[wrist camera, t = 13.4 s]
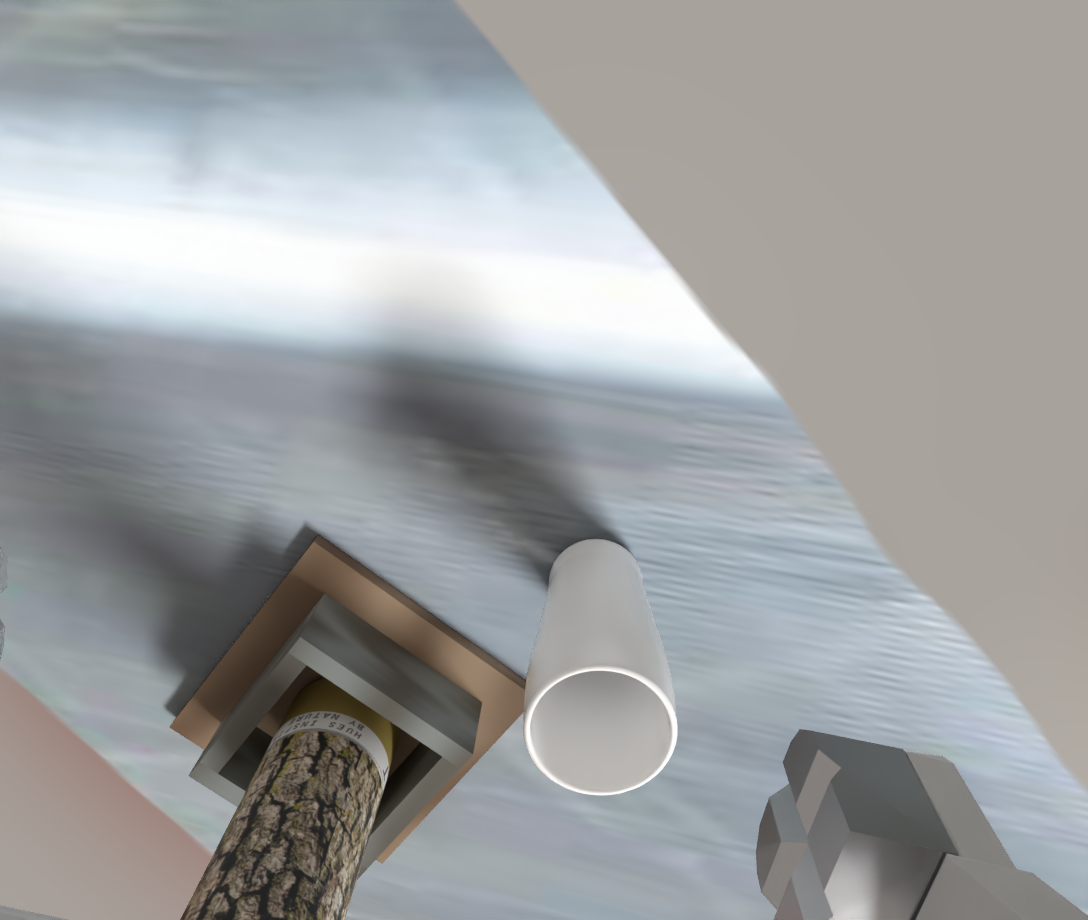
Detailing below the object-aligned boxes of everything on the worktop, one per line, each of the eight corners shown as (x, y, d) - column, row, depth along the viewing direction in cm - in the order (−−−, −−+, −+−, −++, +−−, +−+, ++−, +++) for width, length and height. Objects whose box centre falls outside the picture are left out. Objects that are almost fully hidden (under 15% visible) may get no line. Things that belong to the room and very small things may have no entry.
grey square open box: (175, 717, 59) (132, 780, 53) (318, 534, 54) (287, 581, 49) (385, 852, 62) (365, 925, 56) (537, 688, 57) (532, 750, 51)
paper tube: (267, 714, 57) (46, 1122, 34) (344, 649, 56) (168, 1031, 32) (348, 785, 59) (190, 1224, 35) (425, 724, 57) (314, 1141, 33)
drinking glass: (571, 646, 56) (567, 820, 42) (515, 554, 54) (492, 703, 40) (674, 599, 55) (706, 762, 41) (621, 503, 53) (635, 638, 39)
